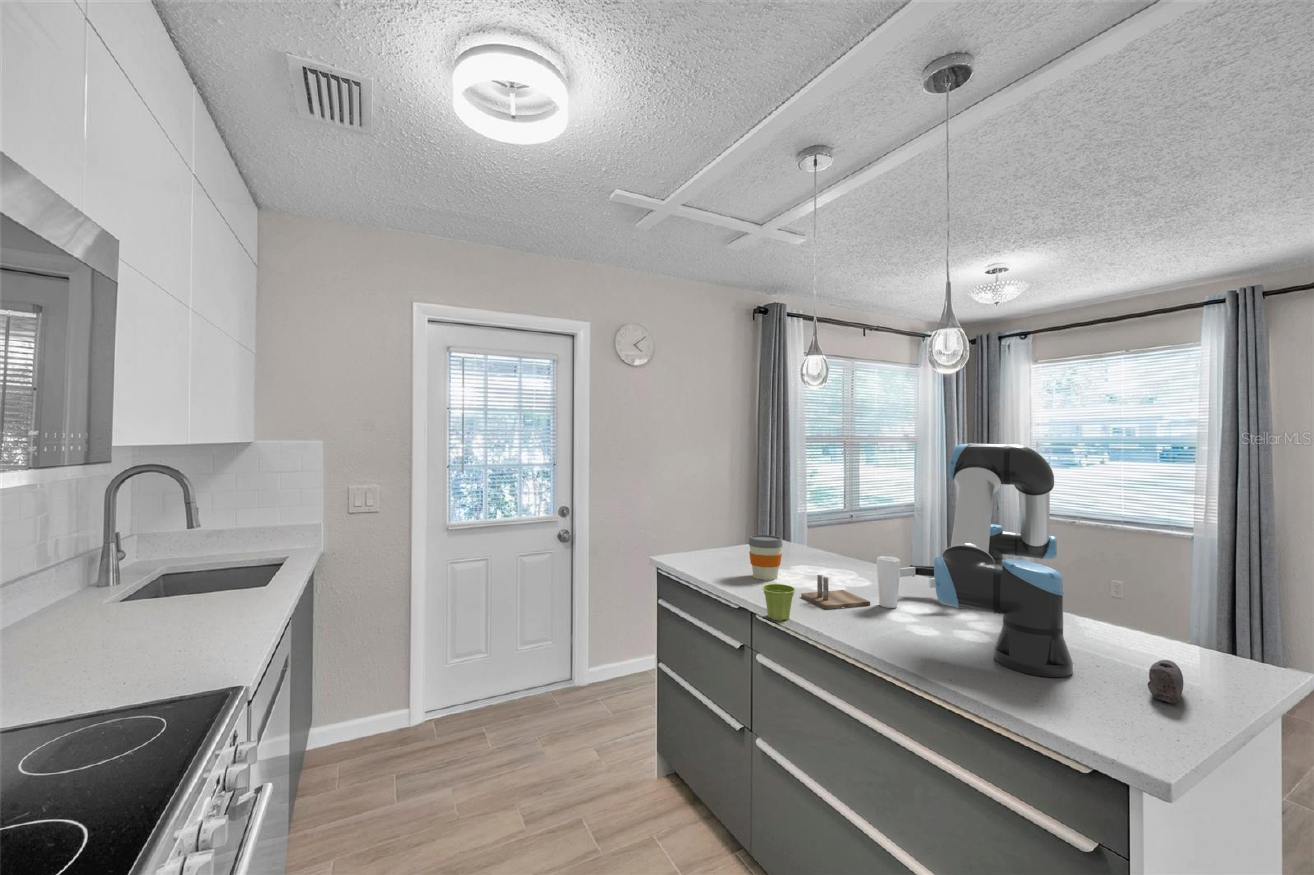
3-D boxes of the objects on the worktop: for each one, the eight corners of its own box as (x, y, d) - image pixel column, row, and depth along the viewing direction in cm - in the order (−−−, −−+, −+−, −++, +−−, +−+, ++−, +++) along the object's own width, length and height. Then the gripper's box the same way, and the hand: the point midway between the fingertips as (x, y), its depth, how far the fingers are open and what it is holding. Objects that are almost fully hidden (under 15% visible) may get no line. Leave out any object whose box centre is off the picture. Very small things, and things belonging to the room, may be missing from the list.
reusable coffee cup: (744, 573, 212) (744, 535, 212) (776, 573, 214) (776, 534, 214) (753, 582, 200) (754, 540, 200) (787, 581, 201) (787, 540, 201)
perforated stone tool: (1154, 680, 120) (1154, 648, 120) (1187, 688, 116) (1187, 655, 116) (1144, 702, 110) (1144, 667, 110) (1180, 711, 106) (1180, 675, 106)
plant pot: (793, 624, 154) (794, 593, 154) (760, 620, 157) (760, 590, 157) (796, 614, 163) (796, 585, 163) (764, 611, 166) (764, 582, 166)
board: (842, 593, 186) (842, 569, 186) (870, 605, 172) (870, 579, 173) (801, 596, 181) (801, 572, 181) (826, 609, 168) (826, 582, 168)
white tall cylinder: (873, 606, 172) (873, 558, 172) (881, 601, 177) (881, 555, 177) (895, 611, 167) (895, 561, 167) (903, 606, 172) (903, 558, 172)
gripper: (999, 595, 169) (944, 600, 163) (936, 575, 193) (886, 579, 187) (1000, 570, 169) (944, 575, 163) (936, 554, 193) (886, 557, 187)
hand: (913, 577), depth 175 cm, fingers open, 13 cm apart
